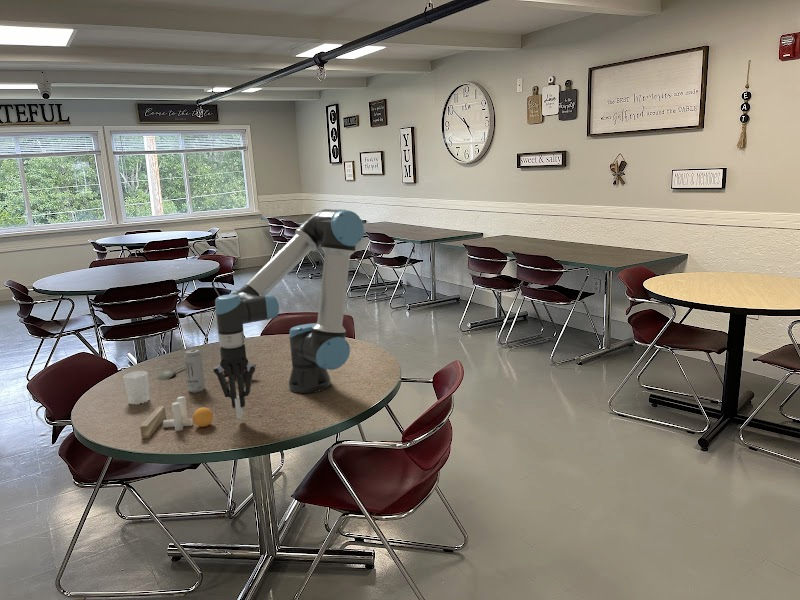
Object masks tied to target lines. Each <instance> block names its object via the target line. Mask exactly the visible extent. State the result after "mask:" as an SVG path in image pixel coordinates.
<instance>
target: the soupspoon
mask: <svg viewBox="0 0 800 600" xmlns="http://www.w3.org/2000/svg"><path fill="white" fill-rule="evenodd" d="M183 368H185V365H183V366H180V367H178V368H176V369H174V370H170V369H169V370H165V371H162V372H161V373H159V375H157V377H156V380H158V381H166V380H167V381H168V380H170V379H171V378H172V377H173V376H174V375H175V374H176V372H177V371H179V370H181V369H183Z"/></svg>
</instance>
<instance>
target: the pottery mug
mask: <svg viewBox="0 0 800 600" xmlns="http://www.w3.org/2000/svg"><path fill="white" fill-rule="evenodd" d="M251 364H252V365H253V363H251ZM222 372H223V374H224V377H225V378H228V374H227V373H226V371H225V370H224V369H223V371H222ZM248 372H249V371H248V370H247V366H246V368H245V369H244V371H243V383H244V384H246V382H247V376H248ZM255 372H256V368H255V369H254V371H253V374H254V373H255ZM234 377H235V383H236V384H237V385H238V381H237V376H236V374H235V375H234Z"/></svg>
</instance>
